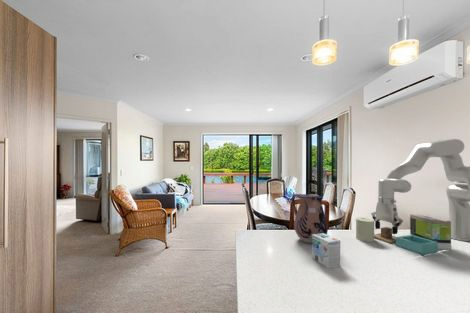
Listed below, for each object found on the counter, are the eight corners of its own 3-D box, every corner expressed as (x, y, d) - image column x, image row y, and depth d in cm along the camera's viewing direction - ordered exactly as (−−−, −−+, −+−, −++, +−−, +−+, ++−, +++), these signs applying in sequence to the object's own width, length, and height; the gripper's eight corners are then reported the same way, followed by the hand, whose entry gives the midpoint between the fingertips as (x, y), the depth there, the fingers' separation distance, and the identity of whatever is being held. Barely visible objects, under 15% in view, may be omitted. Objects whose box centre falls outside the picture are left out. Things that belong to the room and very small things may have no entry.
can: (370, 237, 130) (370, 217, 130) (377, 243, 121) (377, 221, 121) (353, 236, 131) (353, 216, 132) (359, 242, 122) (359, 220, 122)
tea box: (452, 250, 113) (451, 220, 113) (432, 249, 113) (431, 220, 113) (427, 240, 128) (427, 213, 128) (409, 239, 128) (409, 213, 128)
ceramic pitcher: (320, 249, 111) (320, 199, 112) (282, 239, 125) (283, 194, 126) (332, 240, 124) (332, 195, 125) (296, 232, 138) (296, 191, 139)
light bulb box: (311, 257, 101) (311, 233, 102) (323, 256, 104) (323, 232, 104) (328, 268, 91) (328, 241, 92) (341, 266, 93) (341, 240, 94)
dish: (410, 244, 121) (410, 234, 121) (437, 252, 109) (437, 242, 110) (396, 246, 116) (395, 237, 116) (422, 255, 105) (422, 245, 105)
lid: (383, 234, 134) (383, 224, 134) (403, 240, 124) (403, 230, 124) (369, 236, 130) (369, 226, 130) (389, 243, 119) (389, 232, 119)
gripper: (406, 203, 121) (406, 235, 120) (376, 198, 137) (375, 226, 136) (397, 203, 118) (397, 236, 117) (367, 198, 134) (367, 227, 133)
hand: (385, 231), depth 127 cm, fingers open, 9 cm apart
